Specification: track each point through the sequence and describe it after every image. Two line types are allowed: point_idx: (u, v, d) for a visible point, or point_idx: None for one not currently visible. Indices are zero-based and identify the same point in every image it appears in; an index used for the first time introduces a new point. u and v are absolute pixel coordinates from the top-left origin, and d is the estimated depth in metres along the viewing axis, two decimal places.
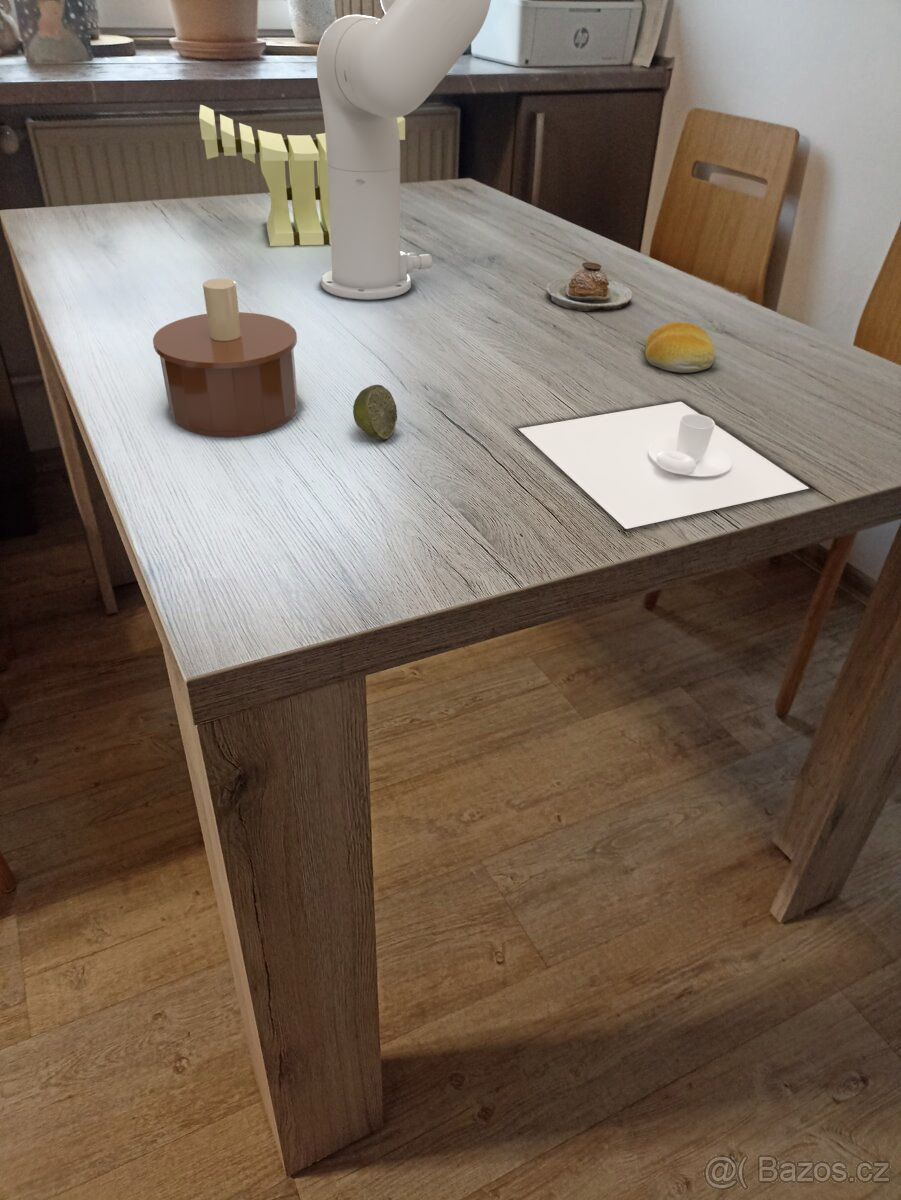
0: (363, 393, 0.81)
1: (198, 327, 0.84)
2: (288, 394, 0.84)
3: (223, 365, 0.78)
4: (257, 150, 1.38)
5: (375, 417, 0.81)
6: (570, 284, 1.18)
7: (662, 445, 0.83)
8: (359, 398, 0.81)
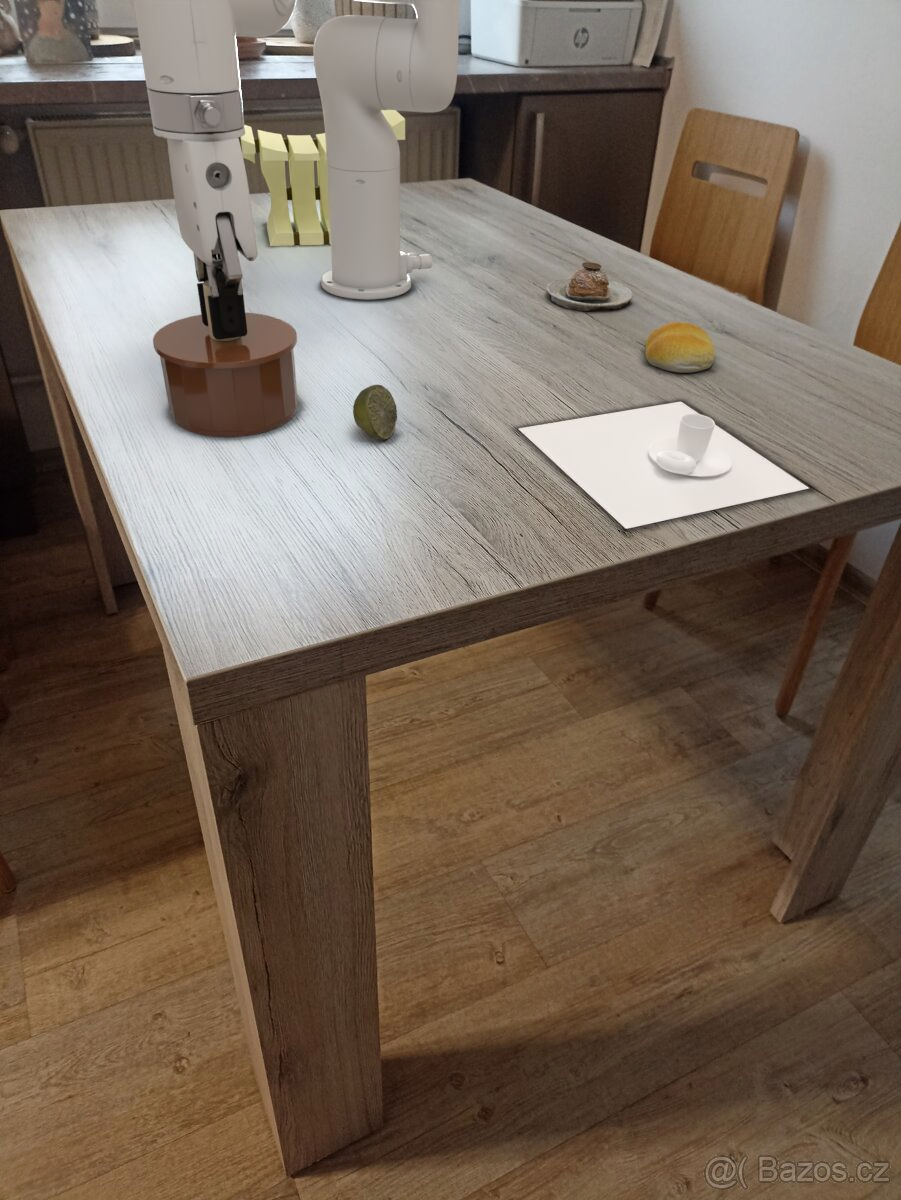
0: (363, 393, 0.81)
1: (198, 327, 0.84)
2: (288, 394, 0.84)
3: (223, 365, 0.78)
4: (257, 150, 1.38)
5: (375, 417, 0.81)
6: (570, 284, 1.18)
7: (662, 445, 0.83)
8: (359, 398, 0.81)
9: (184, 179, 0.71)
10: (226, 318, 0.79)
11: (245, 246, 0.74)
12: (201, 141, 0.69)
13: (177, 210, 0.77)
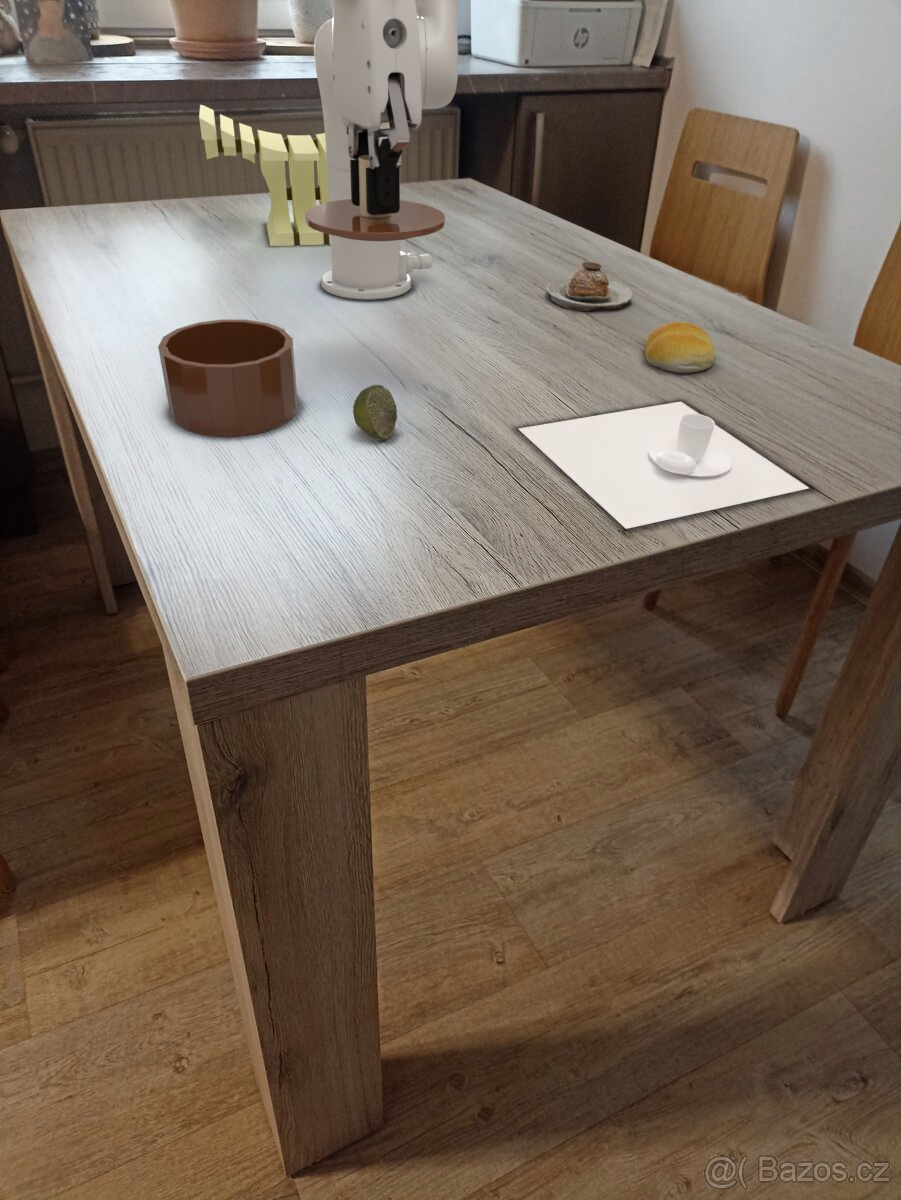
0: (363, 393, 0.81)
1: (345, 208, 0.84)
2: (288, 394, 0.84)
3: (382, 236, 0.78)
4: (257, 150, 1.38)
5: (375, 417, 0.81)
6: (570, 284, 1.18)
7: (662, 445, 0.83)
8: (359, 398, 0.81)
9: (358, 38, 0.71)
10: (383, 191, 0.79)
11: (412, 111, 0.74)
12: None
13: (337, 81, 0.77)
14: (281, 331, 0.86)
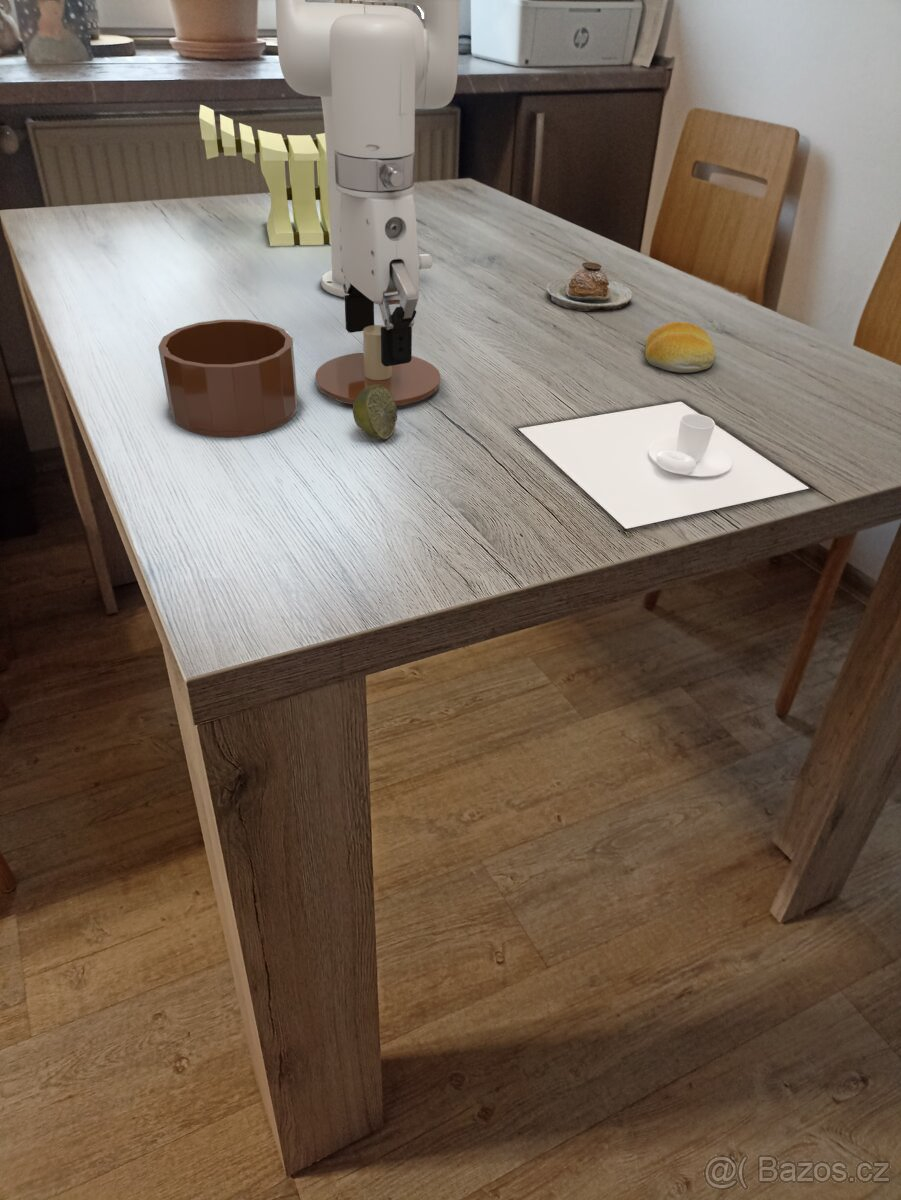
0: (363, 393, 0.81)
1: (351, 367, 0.94)
2: (288, 394, 0.84)
3: None
4: (257, 150, 1.38)
5: (375, 417, 0.81)
6: (570, 284, 1.18)
7: (662, 445, 0.83)
8: (359, 398, 0.81)
9: (363, 230, 0.81)
10: (396, 348, 0.86)
11: None
12: (383, 199, 0.79)
13: (344, 253, 0.87)
14: (281, 331, 0.86)
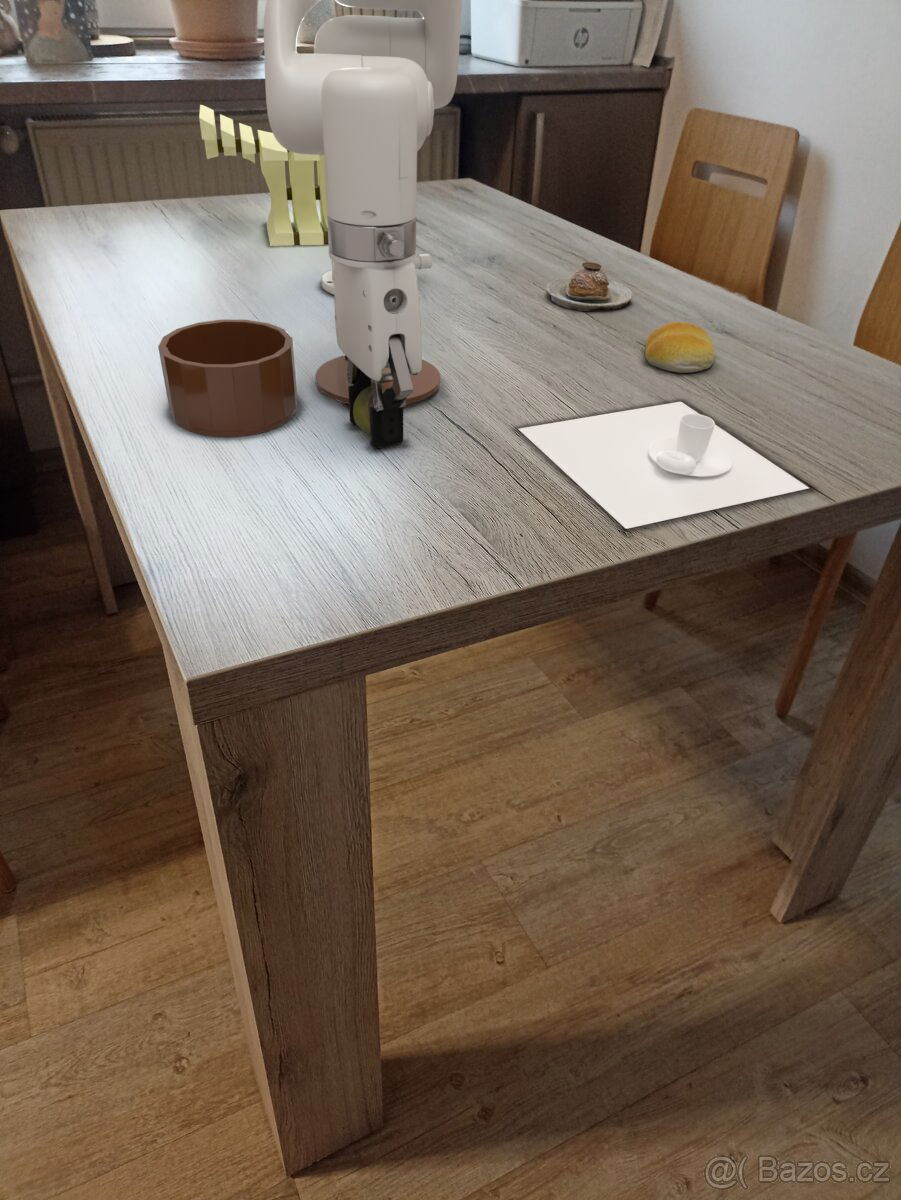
0: (363, 393, 0.81)
1: None
2: (288, 394, 0.84)
3: None
4: (257, 150, 1.38)
5: None
6: (570, 284, 1.18)
7: (662, 445, 0.83)
8: (359, 398, 0.81)
9: (359, 302, 0.73)
10: (386, 429, 0.80)
11: (412, 363, 0.76)
12: (382, 269, 0.71)
13: (339, 323, 0.79)
14: (281, 331, 0.86)
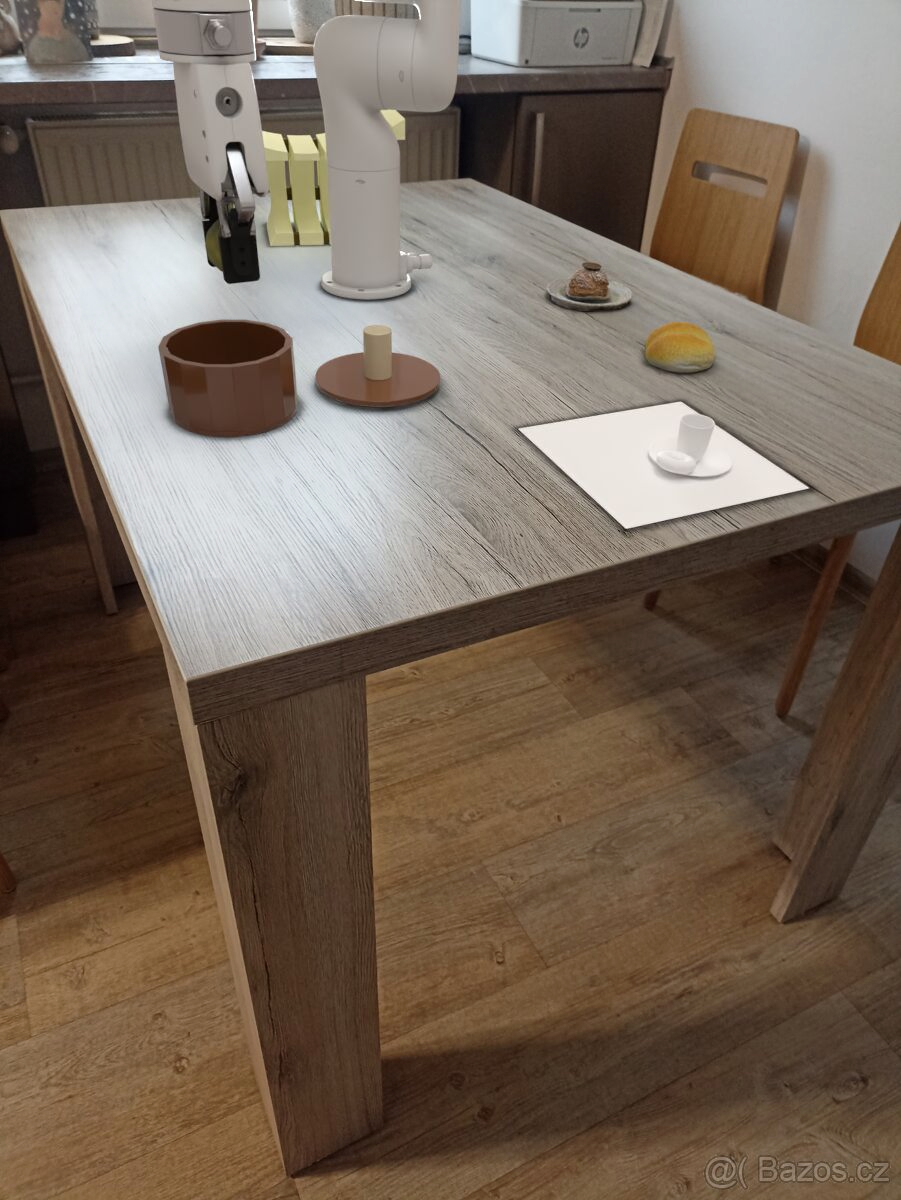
0: (214, 224, 0.76)
1: (351, 367, 0.94)
2: (288, 394, 0.84)
3: (385, 403, 0.88)
4: None
5: None
6: (570, 284, 1.18)
7: (662, 445, 0.83)
8: (210, 229, 0.76)
9: (192, 107, 0.68)
10: (238, 260, 0.75)
11: (256, 180, 0.71)
12: (211, 64, 0.65)
13: (184, 145, 0.74)
14: (281, 331, 0.86)
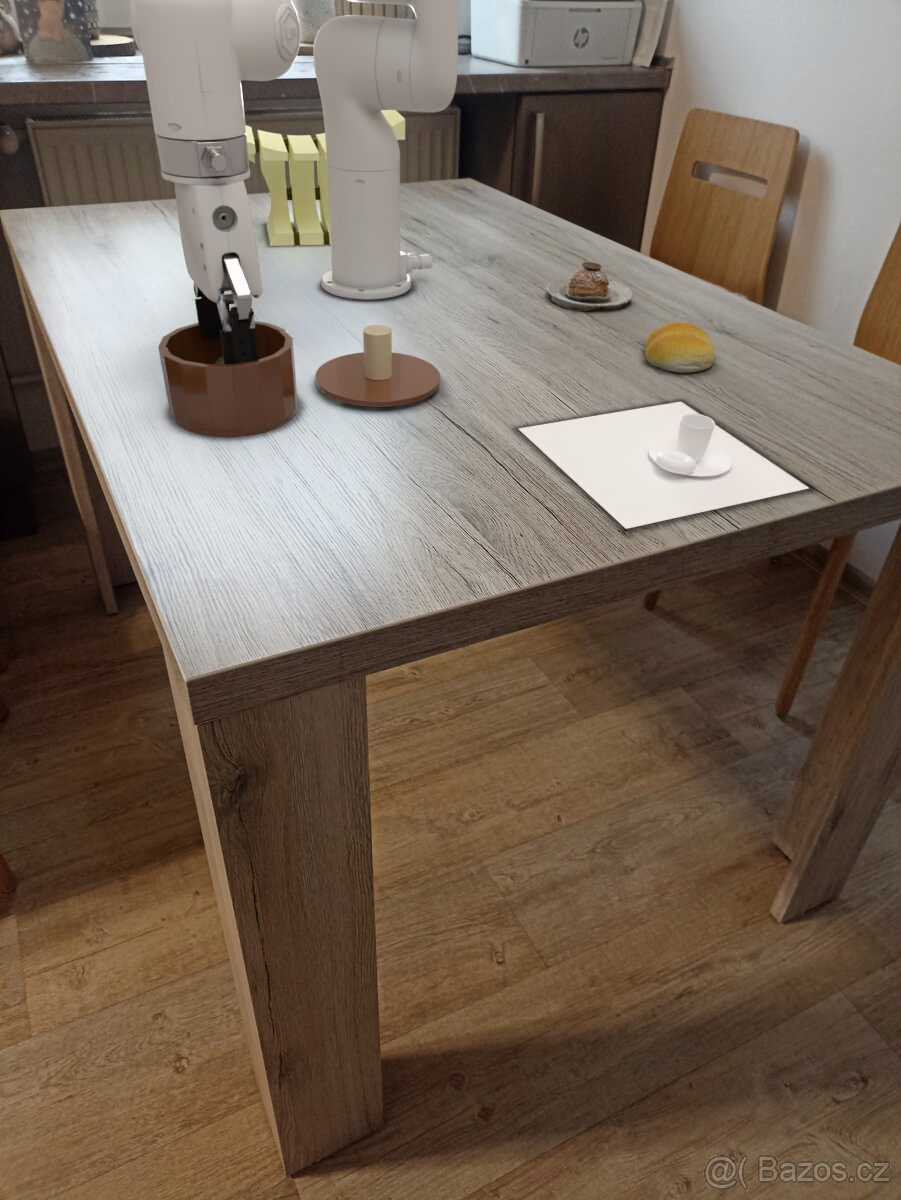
0: (217, 362, 0.84)
1: (351, 367, 0.94)
2: (288, 394, 0.84)
3: (385, 403, 0.88)
4: (257, 150, 1.38)
5: None
6: (570, 284, 1.18)
7: (662, 445, 0.83)
8: None
9: (191, 221, 0.73)
10: (238, 352, 0.79)
11: (250, 284, 0.76)
12: (208, 185, 0.71)
13: (184, 248, 0.79)
14: (281, 331, 0.86)
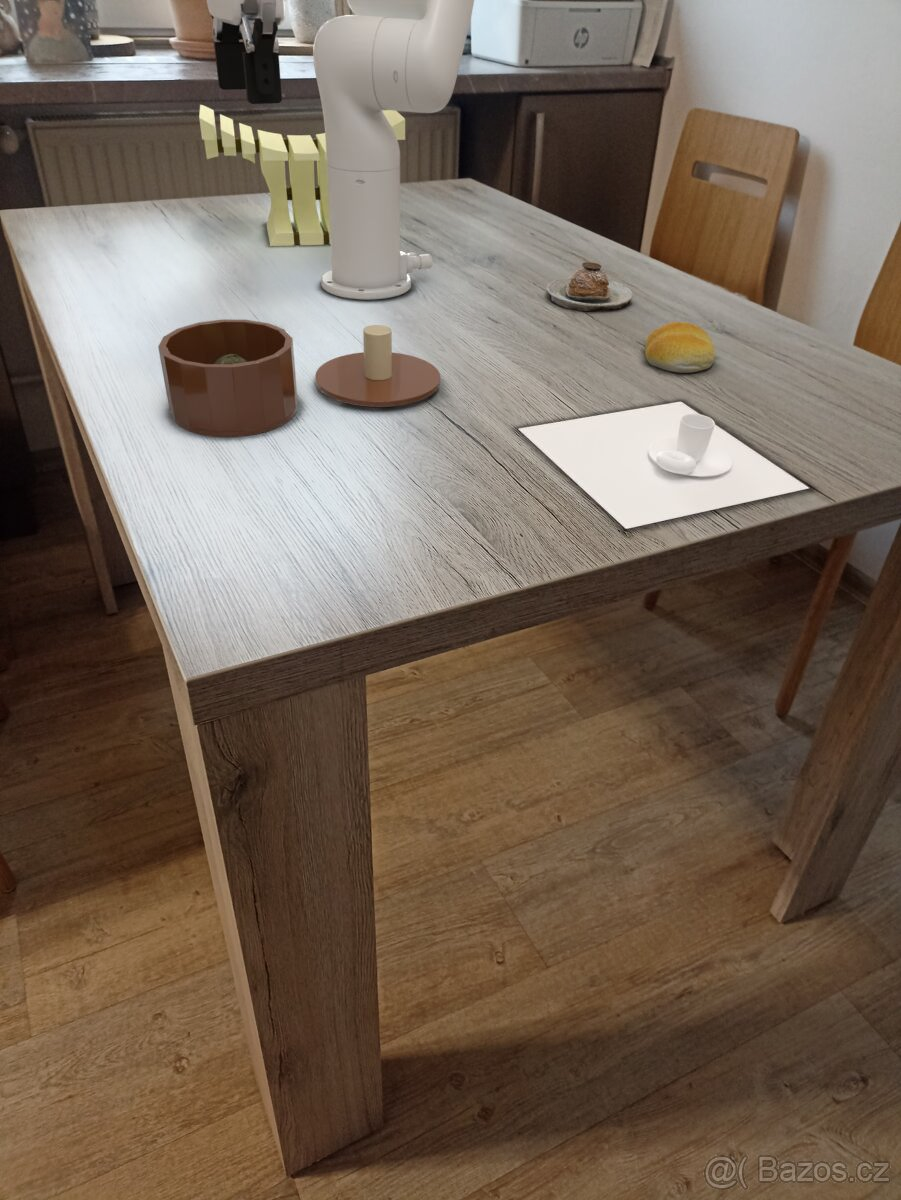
0: (217, 362, 0.84)
1: (351, 367, 0.94)
2: (288, 394, 0.84)
3: (385, 403, 0.88)
4: (257, 150, 1.38)
5: None
6: (570, 284, 1.18)
7: (662, 445, 0.83)
8: None
9: None
10: (261, 78, 0.77)
11: None
12: None
13: None
14: (281, 331, 0.86)
